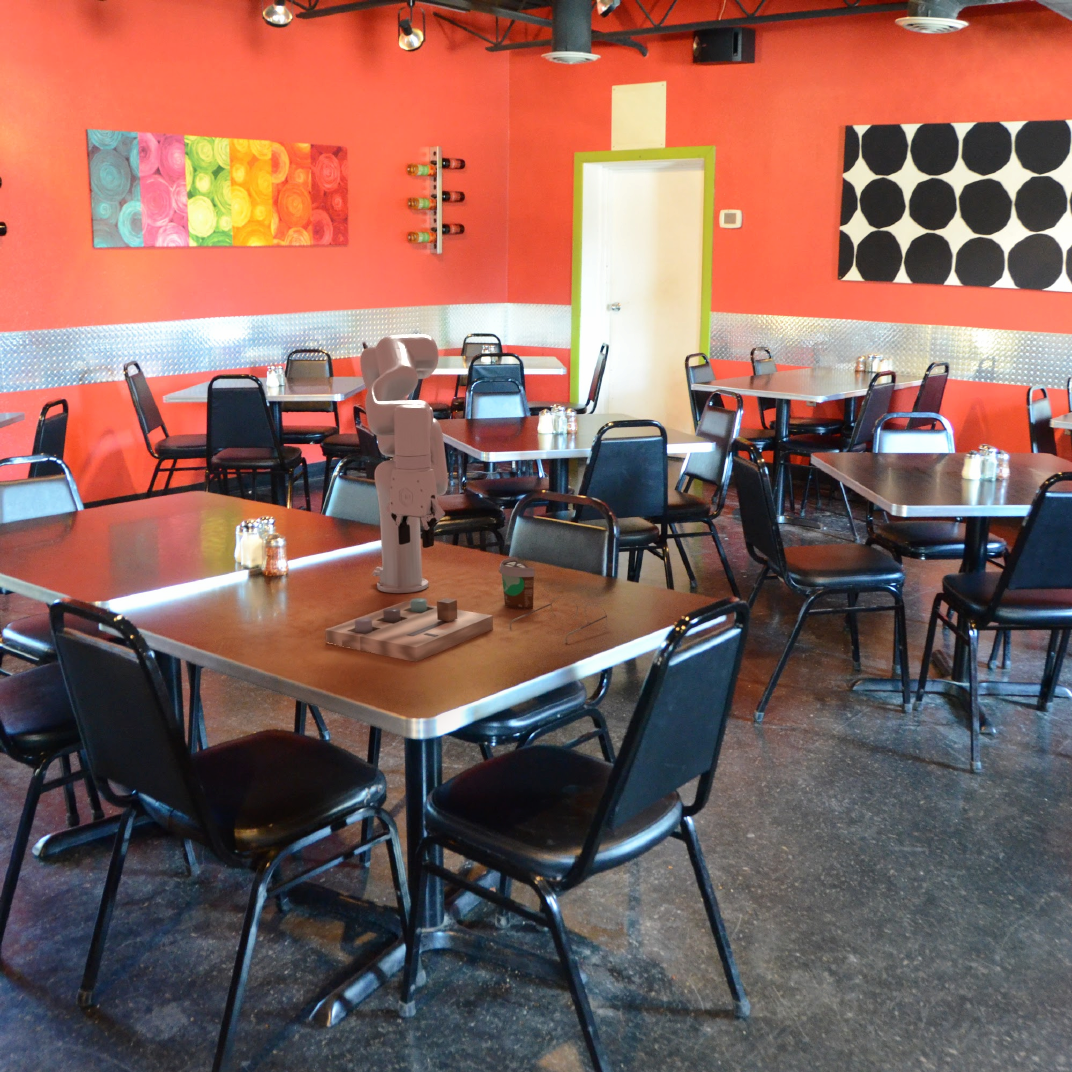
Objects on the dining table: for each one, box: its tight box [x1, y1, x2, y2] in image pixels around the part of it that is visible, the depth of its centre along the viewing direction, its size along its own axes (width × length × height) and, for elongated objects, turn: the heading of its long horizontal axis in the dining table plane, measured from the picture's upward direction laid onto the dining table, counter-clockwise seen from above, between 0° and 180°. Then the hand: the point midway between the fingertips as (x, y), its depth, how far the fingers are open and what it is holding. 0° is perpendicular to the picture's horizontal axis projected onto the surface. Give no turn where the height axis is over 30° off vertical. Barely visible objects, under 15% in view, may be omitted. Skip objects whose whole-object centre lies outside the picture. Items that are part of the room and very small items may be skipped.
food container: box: [498, 556, 536, 611], centre depth 267 cm, size 12×6×10 cm, turn 21°
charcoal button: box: [383, 607, 401, 624], centre depth 247 cm, size 4×4×3 cm
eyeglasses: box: [508, 596, 608, 644], centre depth 249 cm, size 16×15×5 cm
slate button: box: [355, 617, 373, 634], centre depth 240 cm, size 4×4×3 cm
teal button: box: [409, 597, 428, 614], centre depth 255 cm, size 4×4×3 cm
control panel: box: [325, 600, 494, 663], centre depth 245 cm, size 24×26×3 cm
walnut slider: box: [436, 597, 458, 622], centre depth 245 cm, size 3×3×4 cm
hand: (416, 544), depth 252 cm, fingers open, 5 cm apart
